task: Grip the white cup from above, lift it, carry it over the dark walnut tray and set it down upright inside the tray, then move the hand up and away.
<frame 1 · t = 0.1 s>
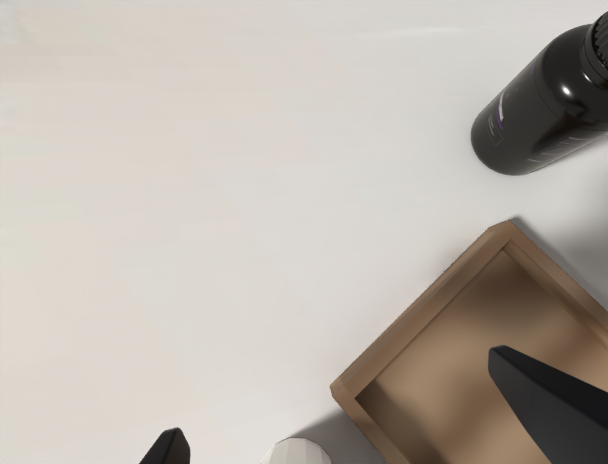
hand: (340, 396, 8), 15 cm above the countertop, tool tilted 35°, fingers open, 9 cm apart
walnut tray: (501, 395, 22), on the countertop
supplement bottle: (504, 143, 26), on the countertop
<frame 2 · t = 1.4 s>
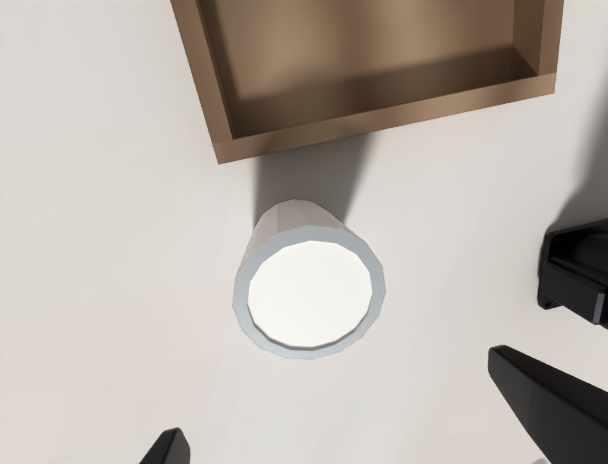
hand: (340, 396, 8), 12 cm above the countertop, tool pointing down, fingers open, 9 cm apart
white cup: (295, 239, 20), on the countertop
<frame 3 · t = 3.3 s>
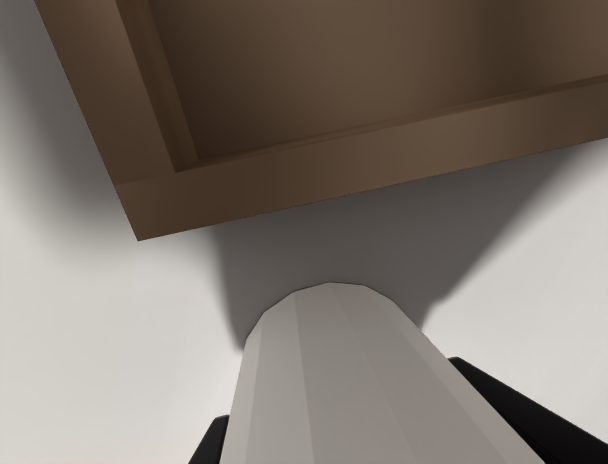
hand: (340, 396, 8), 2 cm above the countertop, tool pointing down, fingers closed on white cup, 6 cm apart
white cup: (327, 352, 10), on the countertop, touching gripper
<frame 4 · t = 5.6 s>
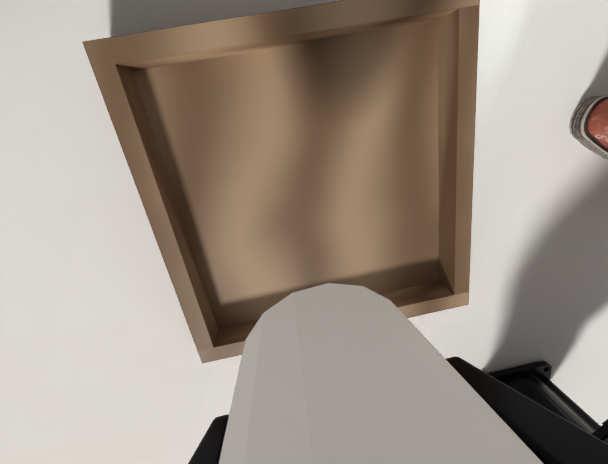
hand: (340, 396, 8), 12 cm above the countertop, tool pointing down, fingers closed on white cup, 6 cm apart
walnut tray: (311, 192, 19), on the countertop
white cup: (327, 353, 10), point 10 cm above the countertop, touching gripper
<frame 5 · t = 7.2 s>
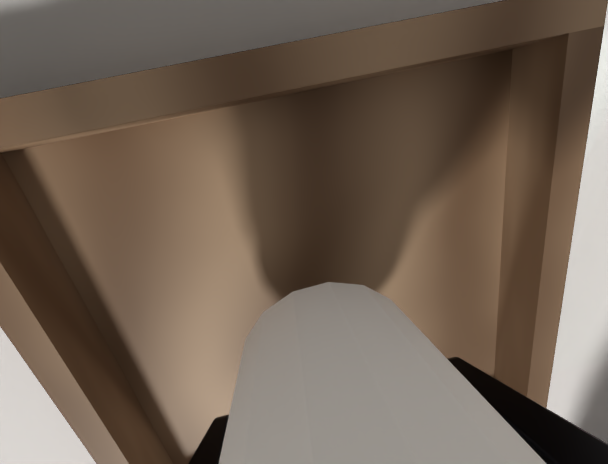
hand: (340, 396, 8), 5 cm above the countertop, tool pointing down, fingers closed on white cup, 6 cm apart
walnut tray: (312, 302, 13), on the countertop
white cup: (327, 352, 10), point 3 cm above the countertop, touching gripper
when the fingers open (4 cm above the countertop, at t = 8.3 s): white cup drops 2 cm, resting on walnut tray.
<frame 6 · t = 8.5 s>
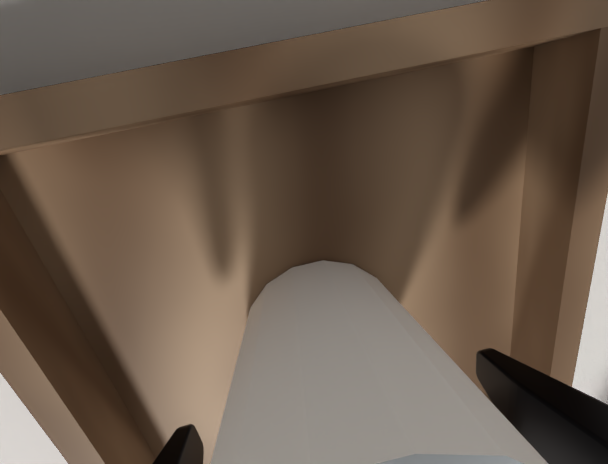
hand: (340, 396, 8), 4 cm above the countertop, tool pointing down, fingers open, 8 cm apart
walnut tray: (317, 315, 12), on the countertop
white cup: (320, 323, 12), resting on walnut tray
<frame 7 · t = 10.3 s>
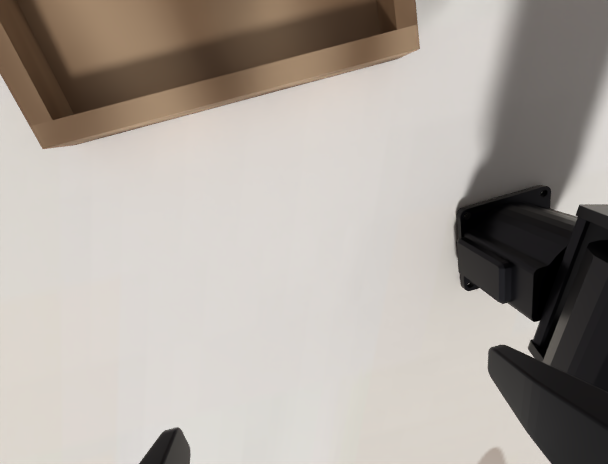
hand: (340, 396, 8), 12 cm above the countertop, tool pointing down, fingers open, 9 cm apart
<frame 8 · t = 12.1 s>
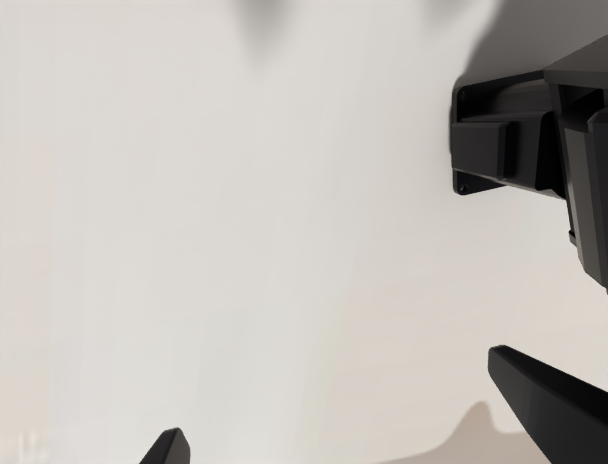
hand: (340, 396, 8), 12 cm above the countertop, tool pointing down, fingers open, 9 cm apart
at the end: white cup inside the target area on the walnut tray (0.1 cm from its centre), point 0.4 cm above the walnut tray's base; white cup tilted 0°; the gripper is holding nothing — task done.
